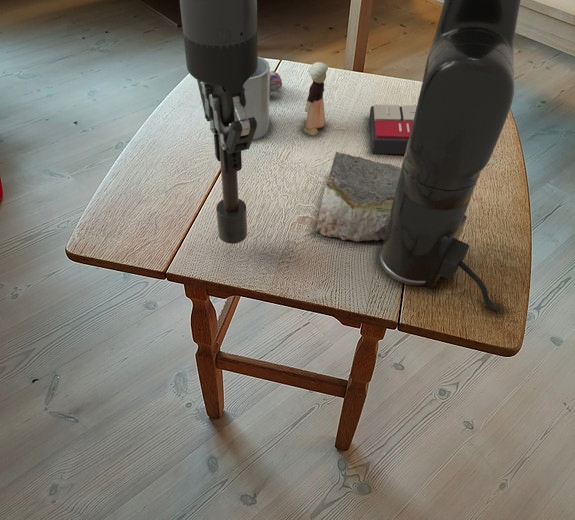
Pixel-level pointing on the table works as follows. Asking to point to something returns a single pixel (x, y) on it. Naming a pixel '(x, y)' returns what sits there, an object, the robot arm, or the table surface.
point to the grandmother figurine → (316, 99)
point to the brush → (231, 208)
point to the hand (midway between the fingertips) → (228, 163)
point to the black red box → (390, 128)
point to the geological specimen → (357, 199)
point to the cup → (259, 97)
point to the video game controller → (275, 81)
